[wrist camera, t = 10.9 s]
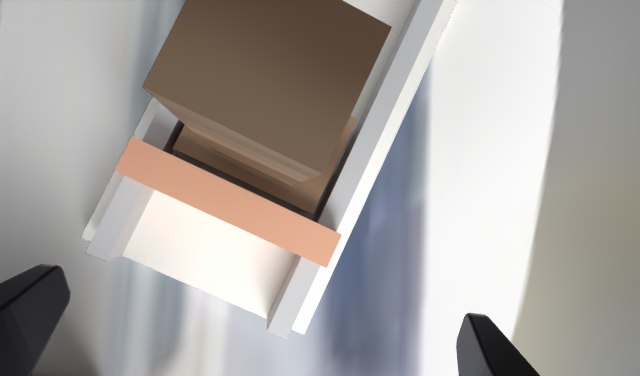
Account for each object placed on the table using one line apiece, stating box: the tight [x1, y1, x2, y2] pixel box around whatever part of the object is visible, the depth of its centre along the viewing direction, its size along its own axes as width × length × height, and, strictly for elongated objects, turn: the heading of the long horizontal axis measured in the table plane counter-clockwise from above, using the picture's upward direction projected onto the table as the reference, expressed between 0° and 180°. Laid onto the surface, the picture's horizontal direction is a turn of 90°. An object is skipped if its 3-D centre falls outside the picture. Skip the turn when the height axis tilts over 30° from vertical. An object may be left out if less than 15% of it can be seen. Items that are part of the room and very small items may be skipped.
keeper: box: [142, 0, 392, 214], centre depth 15 cm, size 5×7×13 cm
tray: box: [81, 0, 458, 339], centre depth 21 cm, size 21×12×4 cm, turn 154°
